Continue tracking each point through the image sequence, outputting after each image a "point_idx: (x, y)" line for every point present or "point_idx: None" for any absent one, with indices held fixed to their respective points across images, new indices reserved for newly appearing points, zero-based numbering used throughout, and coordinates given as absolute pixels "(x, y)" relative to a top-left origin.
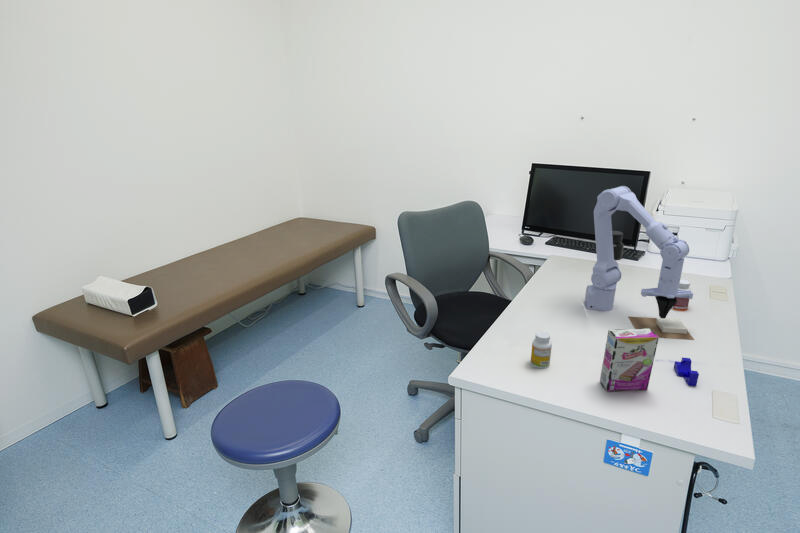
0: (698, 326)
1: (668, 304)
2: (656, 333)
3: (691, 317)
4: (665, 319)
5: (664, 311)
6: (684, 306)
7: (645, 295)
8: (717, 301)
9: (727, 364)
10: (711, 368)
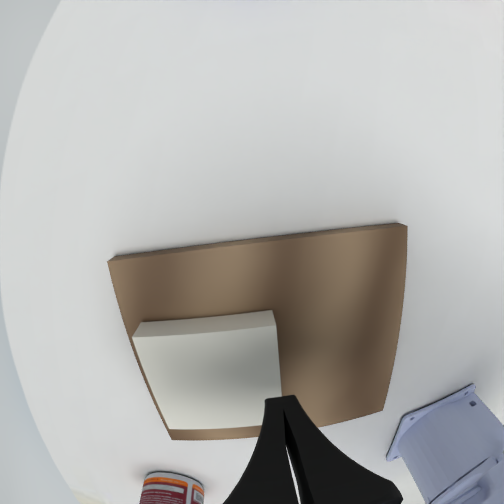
0: (101, 406)
1: (292, 493)
2: (310, 288)
3: (129, 453)
4: (239, 419)
5: (295, 433)
6: (151, 491)
7: (494, 476)
8: (87, 493)
9: (39, 87)
10: (111, 22)
